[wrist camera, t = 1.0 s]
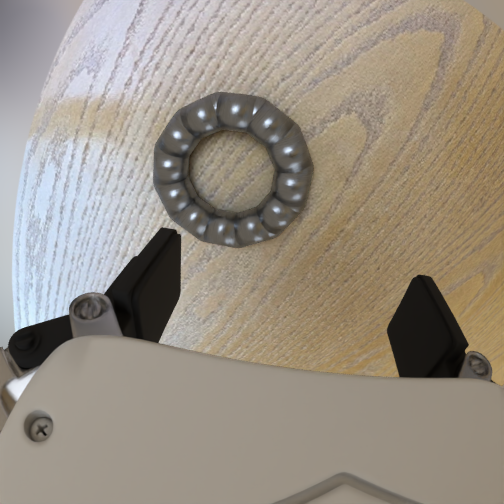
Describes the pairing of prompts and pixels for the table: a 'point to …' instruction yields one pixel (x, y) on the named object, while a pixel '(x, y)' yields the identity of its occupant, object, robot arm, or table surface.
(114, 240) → the table surface
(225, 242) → the dark gray twisted ring
